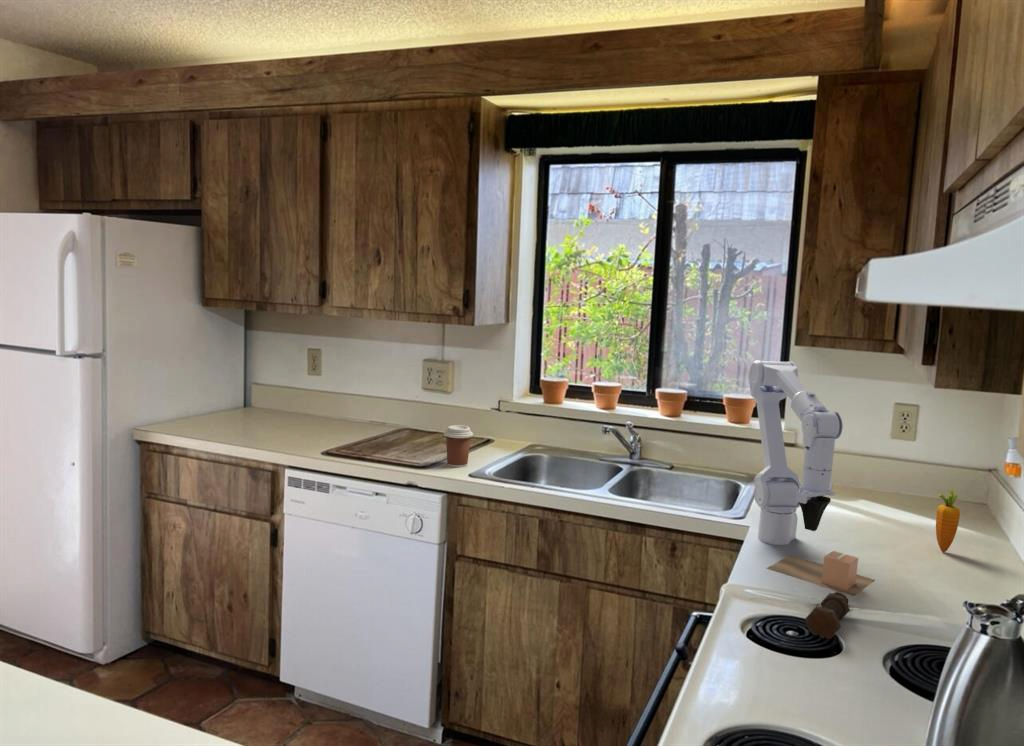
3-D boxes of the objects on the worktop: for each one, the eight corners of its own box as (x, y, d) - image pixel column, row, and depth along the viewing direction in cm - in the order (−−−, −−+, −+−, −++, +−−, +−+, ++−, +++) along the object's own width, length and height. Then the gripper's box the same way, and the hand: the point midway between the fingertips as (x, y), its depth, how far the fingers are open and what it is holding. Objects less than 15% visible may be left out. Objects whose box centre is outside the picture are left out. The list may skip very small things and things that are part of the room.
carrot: (948, 557, 178) (956, 495, 176) (927, 550, 182) (934, 489, 180) (959, 554, 181) (967, 492, 179) (938, 547, 185) (946, 487, 183)
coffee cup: (460, 460, 246) (462, 423, 245) (477, 466, 239) (479, 428, 237) (437, 463, 240) (438, 425, 239) (453, 469, 233) (454, 431, 232)
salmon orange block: (830, 576, 159) (833, 549, 158) (855, 583, 155) (858, 556, 155) (821, 582, 155) (824, 555, 154) (846, 590, 152) (849, 562, 151)
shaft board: (789, 561, 170) (791, 539, 170) (874, 586, 158) (876, 563, 158) (765, 574, 162) (768, 552, 161) (853, 602, 149) (856, 578, 149)
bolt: (842, 619, 146) (823, 646, 134) (819, 600, 148) (799, 625, 136) (861, 598, 144) (844, 623, 132) (838, 579, 146) (819, 602, 134)
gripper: (822, 477, 154) (816, 542, 156) (849, 466, 164) (842, 527, 166) (788, 469, 159) (782, 532, 160) (816, 459, 169) (810, 519, 171)
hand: (810, 529), depth 164 cm, fingers closed
